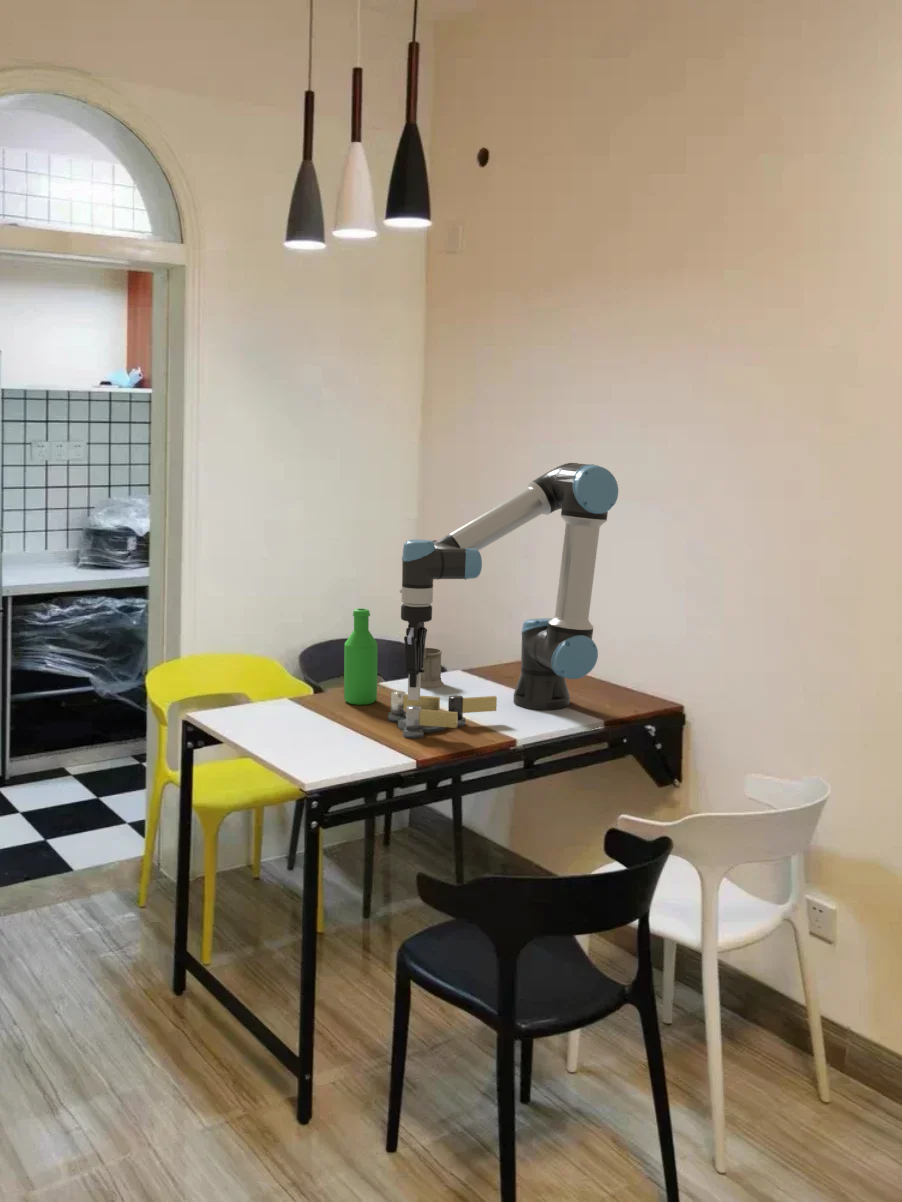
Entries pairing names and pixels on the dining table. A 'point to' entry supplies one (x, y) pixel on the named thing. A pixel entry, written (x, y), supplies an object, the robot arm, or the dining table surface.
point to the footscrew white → (412, 703)
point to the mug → (431, 669)
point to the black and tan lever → (471, 704)
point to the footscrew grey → (429, 718)
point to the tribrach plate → (424, 728)
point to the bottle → (360, 662)
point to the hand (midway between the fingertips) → (413, 699)
